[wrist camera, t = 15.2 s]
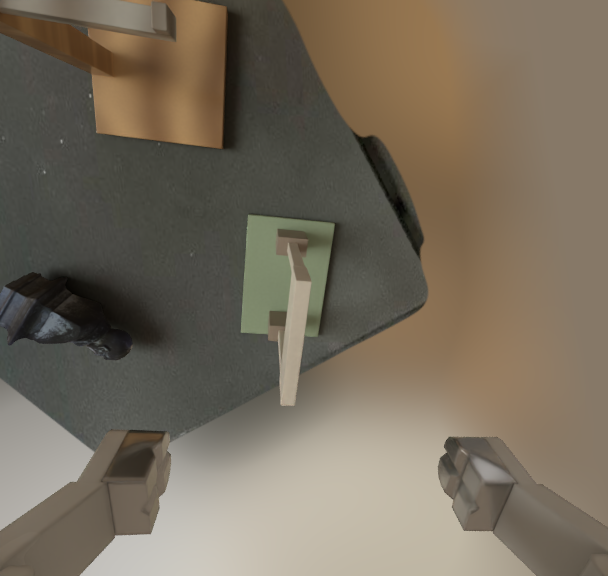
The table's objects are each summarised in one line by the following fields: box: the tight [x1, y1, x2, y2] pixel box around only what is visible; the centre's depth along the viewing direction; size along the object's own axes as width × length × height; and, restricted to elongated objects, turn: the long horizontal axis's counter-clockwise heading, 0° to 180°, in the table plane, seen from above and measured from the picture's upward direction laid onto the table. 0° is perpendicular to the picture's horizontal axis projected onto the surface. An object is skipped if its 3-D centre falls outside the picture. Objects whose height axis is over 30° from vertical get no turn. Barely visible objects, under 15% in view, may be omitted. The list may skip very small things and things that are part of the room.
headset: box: [268, 229, 312, 406], centre depth 34 cm, size 3×12×16 cm, turn 173°
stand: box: [0, 0, 228, 149], centre depth 25 cm, size 12×12×18 cm
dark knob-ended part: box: [0, 272, 133, 360], centre depth 38 cm, size 6×13×6 cm, turn 54°
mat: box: [241, 214, 335, 337], centre depth 42 cm, size 10×15×1 cm, turn 173°
